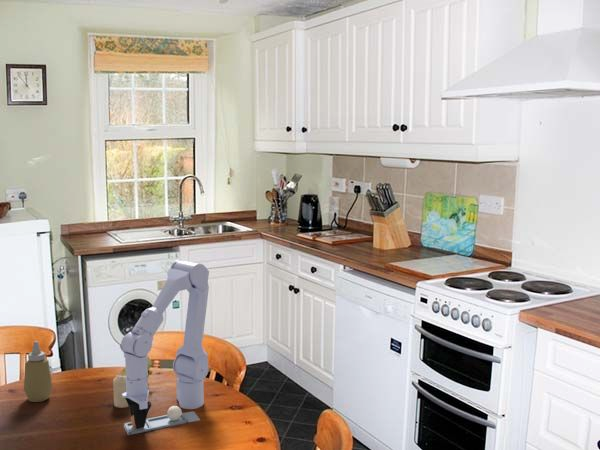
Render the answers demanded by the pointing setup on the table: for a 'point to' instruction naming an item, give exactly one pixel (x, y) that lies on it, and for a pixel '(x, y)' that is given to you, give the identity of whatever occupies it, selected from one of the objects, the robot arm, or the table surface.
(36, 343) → the squeeze bottle
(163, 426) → the board
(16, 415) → the table surface
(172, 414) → the cream ball
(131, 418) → the rust ball
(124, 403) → the candle
